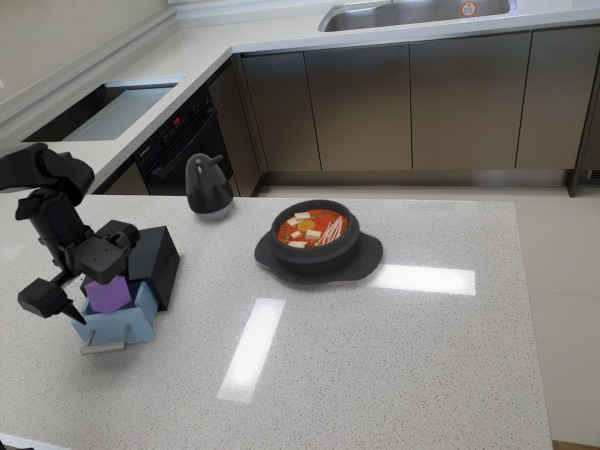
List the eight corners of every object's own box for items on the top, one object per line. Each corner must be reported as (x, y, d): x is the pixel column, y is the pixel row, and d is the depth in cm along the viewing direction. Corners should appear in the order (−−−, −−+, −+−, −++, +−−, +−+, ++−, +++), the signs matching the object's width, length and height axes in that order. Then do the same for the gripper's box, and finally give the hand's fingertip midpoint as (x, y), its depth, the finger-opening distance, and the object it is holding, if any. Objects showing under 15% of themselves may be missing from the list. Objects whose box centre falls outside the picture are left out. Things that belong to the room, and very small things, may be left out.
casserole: (396, 236, 89) (394, 201, 84) (364, 306, 76) (360, 269, 71) (282, 219, 99) (274, 187, 94) (238, 278, 87) (226, 244, 82)
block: (109, 314, 73) (100, 288, 72) (92, 310, 76) (84, 286, 74) (132, 300, 77) (124, 276, 75) (115, 298, 79) (107, 274, 78)
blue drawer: (148, 363, 73) (131, 335, 69) (79, 373, 74) (59, 346, 70) (168, 283, 88) (156, 256, 84) (111, 292, 88) (96, 266, 84)
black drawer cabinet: (167, 310, 83) (150, 276, 78) (100, 321, 84) (79, 288, 79) (180, 257, 95) (166, 225, 90) (121, 267, 96) (104, 235, 90)
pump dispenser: (236, 223, 101) (217, 163, 92) (190, 229, 102) (167, 171, 93) (241, 197, 109) (224, 140, 100) (199, 203, 110) (178, 147, 101)
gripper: (39, 284, 55) (95, 364, 64) (146, 198, 67) (180, 275, 76) (-13, 265, 60) (46, 341, 69) (96, 188, 72) (133, 262, 82)
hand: (106, 303), depth 74 cm, fingers open, 9 cm apart
